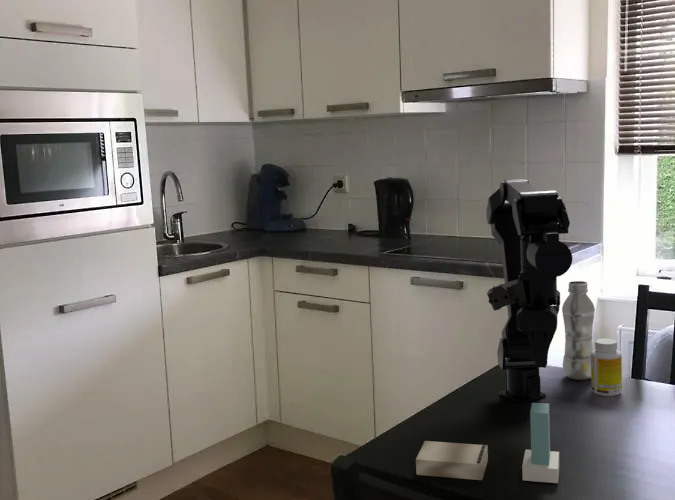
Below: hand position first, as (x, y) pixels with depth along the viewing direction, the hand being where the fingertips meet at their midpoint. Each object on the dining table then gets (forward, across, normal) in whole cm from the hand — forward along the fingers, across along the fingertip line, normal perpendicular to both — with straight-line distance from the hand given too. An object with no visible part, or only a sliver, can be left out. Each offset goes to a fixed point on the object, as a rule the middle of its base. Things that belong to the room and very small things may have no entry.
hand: (540, 356), depth 127 cm
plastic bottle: (+13, -28, +6) cm, 31 cm away
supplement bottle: (+13, -20, +11) cm, 26 cm away
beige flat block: (+13, +18, -13) cm, 25 cm away
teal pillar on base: (+13, +18, +1) cm, 22 cm away
